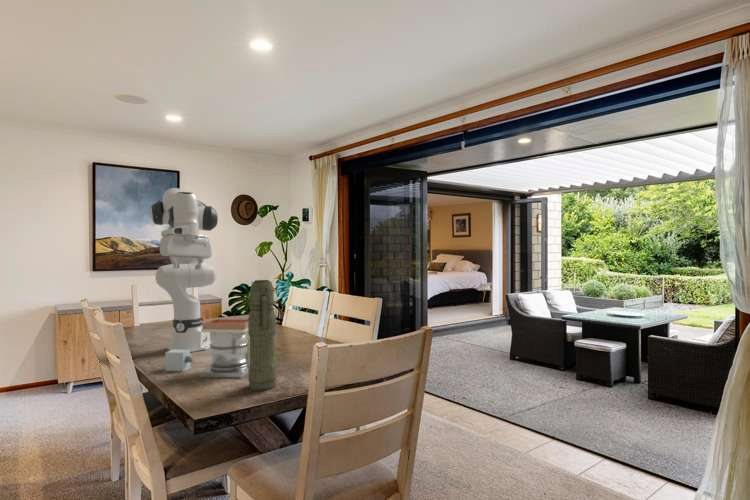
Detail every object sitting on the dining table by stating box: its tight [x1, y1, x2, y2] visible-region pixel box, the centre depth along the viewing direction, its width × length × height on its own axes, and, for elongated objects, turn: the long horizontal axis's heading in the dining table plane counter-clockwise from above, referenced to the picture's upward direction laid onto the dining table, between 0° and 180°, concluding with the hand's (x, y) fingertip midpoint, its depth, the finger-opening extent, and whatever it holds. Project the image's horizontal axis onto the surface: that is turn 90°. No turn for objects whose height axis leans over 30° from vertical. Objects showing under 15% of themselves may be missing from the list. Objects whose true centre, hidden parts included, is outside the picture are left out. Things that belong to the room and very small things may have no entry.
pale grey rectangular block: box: [164, 349, 194, 372], centre depth 169 cm, size 5×9×7 cm, turn 84°
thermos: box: [248, 279, 277, 392], centre depth 147 cm, size 9×12×35 cm
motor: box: [198, 318, 250, 379], centre depth 166 cm, size 16×16×19 cm
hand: (187, 269), depth 167 cm, fingers open, 8 cm apart
